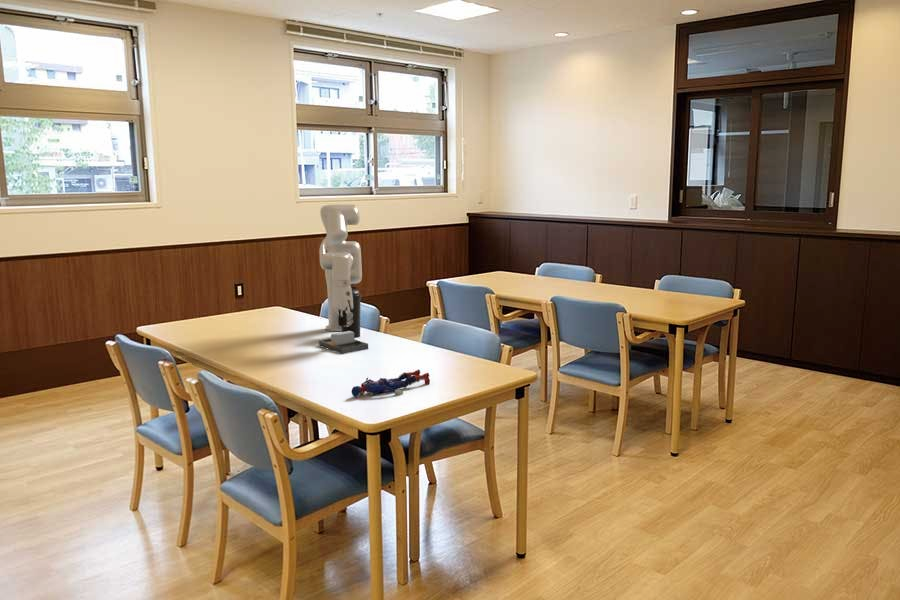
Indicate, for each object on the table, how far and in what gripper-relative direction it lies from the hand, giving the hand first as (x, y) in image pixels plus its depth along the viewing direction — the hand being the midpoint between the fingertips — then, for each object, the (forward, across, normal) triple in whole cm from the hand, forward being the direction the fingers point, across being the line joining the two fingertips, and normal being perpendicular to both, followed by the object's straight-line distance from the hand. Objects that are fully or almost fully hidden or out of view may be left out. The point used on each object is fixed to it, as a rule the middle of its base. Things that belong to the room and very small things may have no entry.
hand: (342, 325), depth 298 cm
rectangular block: (+9, 0, 0) cm, 9 cm away
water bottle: (+10, +16, -15) cm, 24 cm away
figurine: (+11, -62, +21) cm, 67 cm away
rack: (+10, 0, 0) cm, 10 cm away
